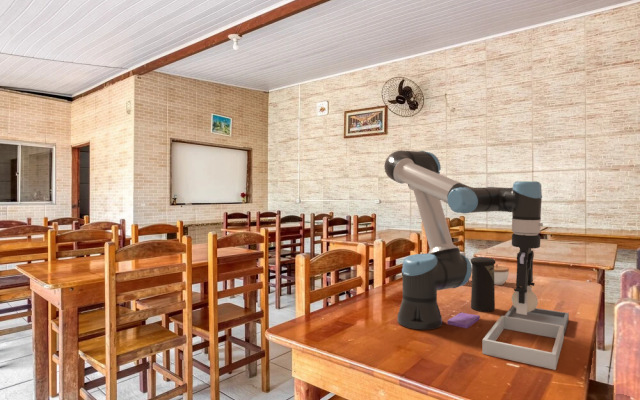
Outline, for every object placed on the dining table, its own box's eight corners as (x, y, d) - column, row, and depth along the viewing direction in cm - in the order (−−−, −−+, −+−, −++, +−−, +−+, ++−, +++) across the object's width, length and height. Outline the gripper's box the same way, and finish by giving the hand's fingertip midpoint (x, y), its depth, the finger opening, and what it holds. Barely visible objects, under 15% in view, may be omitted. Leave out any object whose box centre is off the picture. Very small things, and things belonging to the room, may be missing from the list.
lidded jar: (479, 282, 199) (479, 263, 198) (495, 280, 203) (495, 261, 203) (497, 287, 189) (497, 267, 189) (513, 284, 193) (513, 265, 193)
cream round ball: (528, 307, 123) (528, 285, 123) (542, 315, 116) (542, 292, 116) (506, 307, 123) (507, 285, 123) (519, 315, 116) (519, 292, 115)
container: (497, 312, 150) (497, 259, 150) (472, 311, 152) (472, 259, 152) (492, 306, 159) (492, 255, 158) (468, 305, 161) (468, 255, 160)
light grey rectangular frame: (555, 370, 104) (555, 354, 103) (482, 353, 114) (482, 339, 114) (563, 338, 125) (563, 325, 125) (501, 327, 135) (501, 315, 135)
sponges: (447, 325, 139) (447, 320, 139) (460, 316, 148) (460, 311, 148) (467, 330, 134) (467, 324, 134) (480, 320, 144) (480, 315, 144)
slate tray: (564, 335, 127) (564, 327, 127) (503, 324, 138) (503, 317, 138) (568, 320, 142) (568, 313, 142) (512, 311, 152) (512, 304, 152)
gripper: (535, 238, 108) (533, 322, 109) (544, 231, 124) (542, 303, 125) (505, 236, 112) (503, 317, 113) (517, 229, 129) (516, 299, 130)
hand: (523, 310), depth 119 cm, fingers closed on cream round ball, 7 cm apart
